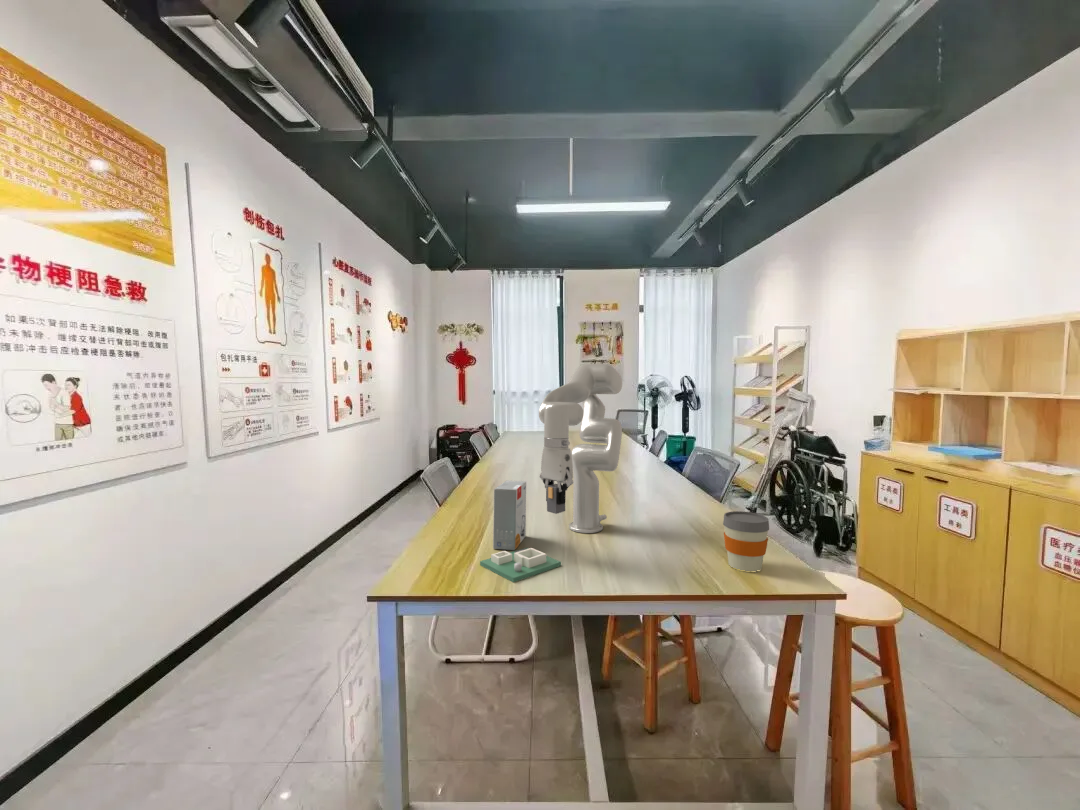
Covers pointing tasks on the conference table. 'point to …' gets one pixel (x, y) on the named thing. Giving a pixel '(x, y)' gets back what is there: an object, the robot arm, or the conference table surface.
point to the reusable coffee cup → (745, 539)
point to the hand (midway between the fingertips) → (555, 501)
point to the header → (525, 556)
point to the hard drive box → (509, 515)
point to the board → (525, 571)
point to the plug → (553, 500)
